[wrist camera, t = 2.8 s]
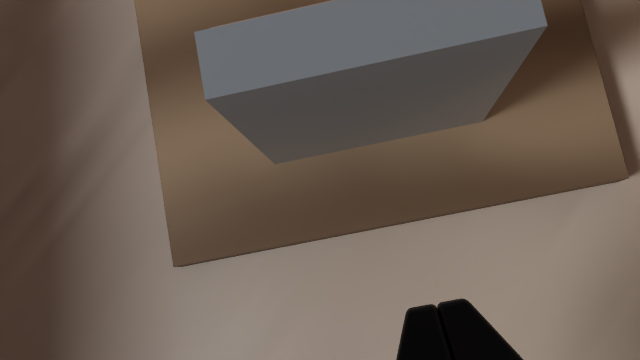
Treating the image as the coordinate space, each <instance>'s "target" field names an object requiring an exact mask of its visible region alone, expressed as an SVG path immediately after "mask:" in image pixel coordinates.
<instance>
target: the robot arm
mask: <svg viewBox="0 0 640 360" xmlns="http://www.w3.org/2000/svg"><path fill="white" fill-rule="evenodd" d="M396 360H523V359H522V358H521V357H520V355H519V354H518V353H517V352H516V351H515V350H514V349H513V348H512V347H511V346H510V345H509V344H508V343H507V342H506V340H505V339H504V338H503V337H502V336H501V335H500V334H499V333H498V332H497V331H496V330H495V329H494V328H493V327H492V325H491V324H490V323H489V322H488V321H487V320H486V319H485V318H484V317H483V316H482V315H481V314H480V313H479V312H478V311H477V309H476V308H475V307H474V306H473V305H472V304H471V303H470V302H469V301H467V300H466V299H457V300H451V301H446V302H441V303H439V304H438V306H437V307H436V306H435V305H432V304H429V305H424V306H418V307H413V308H410V309H408V310H407V312H406V315H405V320H404V325H403V329H402V334H401V339H400V344H399V349H398V354H397V359H396Z"/></svg>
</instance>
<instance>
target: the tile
mask: <svg viewBox="0 0 640 360" xmlns="http://www.w3.org/2000/svg"><path fill="white" fill-rule="evenodd" d="M547 26H548V25H547V22H546V18H545V14H544V10H543V6H542V3H541V0H331V1H327V2H323V3H318V4H314V5H309V6H305V7H300V8H296V9H292V10H287V11H283V12H278V13H274V14H269V15H265V16H261V17H256V18H252V19H247V20H243V21H238V22H234V23H230V24H225V25H221V26H216V27H212V28H209V29H205V30H200V31H196V32H194V34H195V41H196V47H197V53H198V59H199V65H200V72H201V78H202V84H203V90H204V96H205V100H206V101H207V102H208V103H209V104H210V105H211V106H212V107H213V108H214V109H216V110H217V111H218V112H219V113H220V114H221V115H222V116H223V117H224V118H225V119H226V120H227V121H229V122H230V123H231V124H232V125H233V126H234V127H235V128H236V129H237V130H238V131H239V132H240V133H242V134H243V135H244V136H245V137H246V138H247V139H248V140H249V141H250V142H251V143H252V144H253V145H254V146H256V147H257V148H258V149H259V150H260V151H261V152H262V153H263V154H264V155H265V156H266V157H267V158H269V159H270V160H271V161H272V162H273V163H274V164H279V163H284V162H289V161H294V160H299V159H304V158H309V157H313V156H318V155H323V154H328V153H333V152H338V151H343V150H347V149H352V148H357V147H362V146H367V145H372V144H377V143H381V142H386V141H391V140H396V139H401V138H406V137H411V136H415V135H420V134H425V133H430V132H435V131H440V130H445V129H449V128H454V127H459V126H464V125H469V124H474V123H479V122H483V120H484V119H485V117H486V116H487V114H488V113H489V111H490V110H491V108H492V107H493V105H494V104H495V102H496V101H497V99H498V98H499V97H500V95H501V94H502V92H503V91H504V89H505V88H506V86H507V85H508V83H509V82H510V80H511V79H512V77H513V76H514V74H515V73H516V71H517V70H518V69H519V67H520V66H521V64H522V63H523V61H524V60H525V58H526V57H527V55H528V54H529V52H530V51H531V49H532V48H533V46H534V45H535V44H536V42H537V41H538V39H539V38H540V36H541V35H542V33H543V32H544V30H545V29H546V27H547Z"/></svg>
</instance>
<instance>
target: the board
mask: <svg viewBox="0 0 640 360" xmlns="http://www.w3.org/2000/svg"><path fill="white" fill-rule="evenodd" d="M134 1H135V8H136V15H137V21H138V28H139V35H140V42H141V49H142V55H143V62H144V69H145V76H146V83H147V90H148V96H149V103H150V110H151V117H152V124H153V131H154V137H155V144H156V151H157V158H158V165H159V171H160V178H161V185H162V192H163V199H164V206H165V212H166V219H167V226H168V233H169V240H170V246H171V253H172V260H173V267H183V266H188V265H193V264H198V263H203V262H208V261H214V260H219V259H224V258H229V257H234V256H239V255H244V254H250V253H255V252H260V251H265V250H270V249H275V248H280V247H285V246H291V245H296V244H301V243H306V242H311V241H316V240H321V239H327V238H332V237H337V236H342V235H347V234H352V233H357V232H362V231H368V230H373V229H378V228H383V227H388V226H393V225H398V224H404V223H409V222H414V221H419V220H424V219H429V218H434V217H439V216H445V215H450V214H455V213H460V212H465V211H470V210H475V209H481V208H486V207H491V206H496V205H501V204H506V203H511V202H516V201H522V200H527V199H532V198H537V197H542V196H547V195H552V194H558V193H563V192H568V191H573V190H578V189H583V188H588V187H593V186H599V185H604V184H609V183H614V182H619V181H622V180H625V179H628V178H629V175H628V172H627V168H626V164H625V161H624V157H623V153H622V150H621V146H620V143H619V139H618V135H617V132H616V128H615V124H614V121H613V117H612V113H611V110H610V106H609V102H608V99H607V95H606V91H605V88H604V84H603V80H602V77H601V73H600V70H599V66H598V62H597V59H596V55H595V51H594V48H593V44H592V40H591V37H590V33H589V29H588V26H587V22H586V18H585V15H584V11H583V7H582V4H581V0H541V3H542V6H543V10H544V14H545V18H546V22H547V25H548V26H547V27H546V29H545V30H544V32H543V33H542V35H541V36H540V38H539V39H538V41H537V42H536V44H535V45H534V46H533V48H532V49H531V51H530V52H529V54H528V55H527V57H526V58H525V60H524V61H523V63H522V64H521V66H520V67H519V69H518V70H517V71H516V73H515V74H514V76H513V77H512V79H511V80H510V82H509V83H508V85H507V86H506V88H505V89H504V91H503V92H502V94H501V95H500V97H499V98H498V99H497V101H496V102H495V104H494V105H493V107H492V108H491V110H490V111H489V113H488V114H487V116H486V117H485V119H484V120H483V122H479V123H474V124H469V125H464V126H459V127H454V128H449V129H445V130H440V131H435V132H430V133H425V134H420V135H415V136H411V137H406V138H401V139H396V140H391V141H386V142H381V143H377V144H372V145H367V146H362V147H357V148H352V149H347V150H343V151H338V152H333V153H328V154H323V155H318V156H313V157H309V158H304V159H299V160H294V161H289V162H284V163H279V164H274V163H273V162H272V161H271V160H270V159H269V158H267V157H266V156H265V155H264V154H263V153H262V152H261V151H260V150H259V149H258V148H257V147H256V146H254V145H253V144H252V143H251V142H250V141H249V140H248V139H247V138H246V137H245V136H244V135H243V134H242V133H240V132H239V131H238V130H237V129H236V128H235V127H234V126H233V125H232V124H231V123H230V122H229V121H227V120H226V119H225V118H224V117H223V116H222V115H221V114H220V113H219V112H218V111H217V110H216V109H214V108H213V107H212V106H211V105H210V104H209V103H208V102H207V101H206V100H205V96H204V90H203V84H202V78H201V72H200V65H199V59H198V53H197V47H196V41H195V34H194V32H196V31H200V30H205V29H209V28H212V27H216V26H221V25H225V24H230V23H234V22H238V21H243V20H247V19H252V18H256V17H261V16H265V15H269V14H274V13H278V12H283V11H287V10H292V9H296V8H300V7H305V6H309V5H314V4H318V3H323V2H327V1H331V0H134Z"/></svg>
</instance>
